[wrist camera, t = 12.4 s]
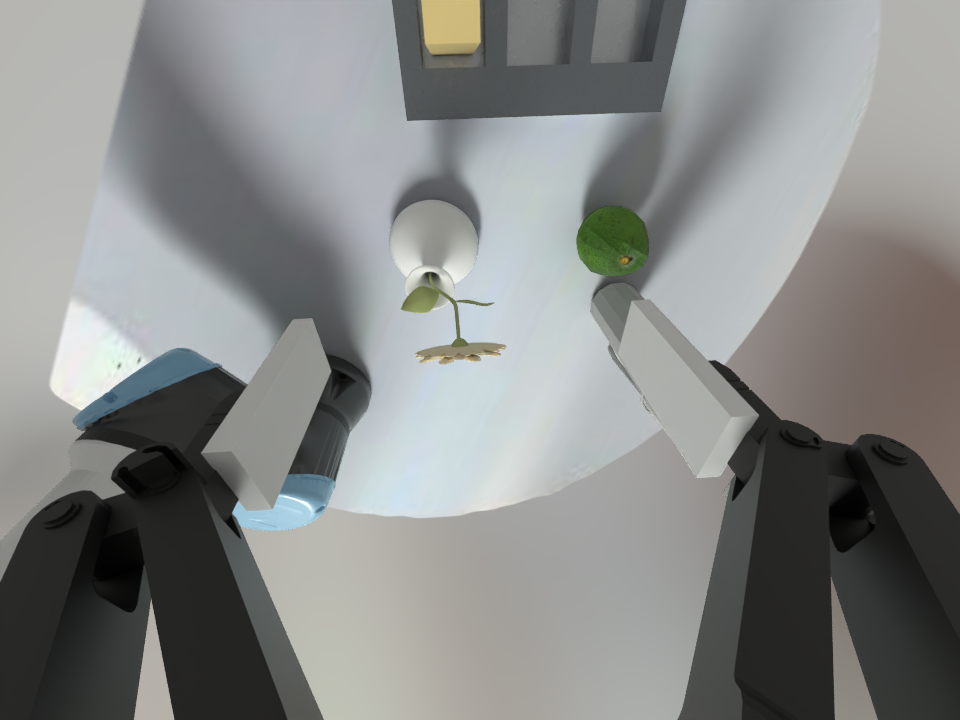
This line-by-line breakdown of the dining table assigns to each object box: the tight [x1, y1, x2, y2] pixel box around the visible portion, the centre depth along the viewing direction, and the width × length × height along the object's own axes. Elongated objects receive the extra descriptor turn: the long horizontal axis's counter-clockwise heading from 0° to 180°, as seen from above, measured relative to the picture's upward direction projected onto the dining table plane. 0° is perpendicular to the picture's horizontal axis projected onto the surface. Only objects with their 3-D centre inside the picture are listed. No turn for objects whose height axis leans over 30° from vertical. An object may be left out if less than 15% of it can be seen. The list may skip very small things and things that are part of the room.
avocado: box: [577, 206, 649, 276], centre depth 43 cm, size 8×8×12 cm
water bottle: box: [590, 282, 673, 441], centre depth 45 cm, size 9×8×25 cm
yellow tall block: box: [421, 0, 481, 56], centre depth 29 cm, size 4×5×12 cm
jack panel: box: [392, 0, 686, 121], centre depth 33 cm, size 26×14×4 cm, turn 91°
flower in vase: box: [389, 200, 506, 365], centre depth 38 cm, size 13×11×25 cm
